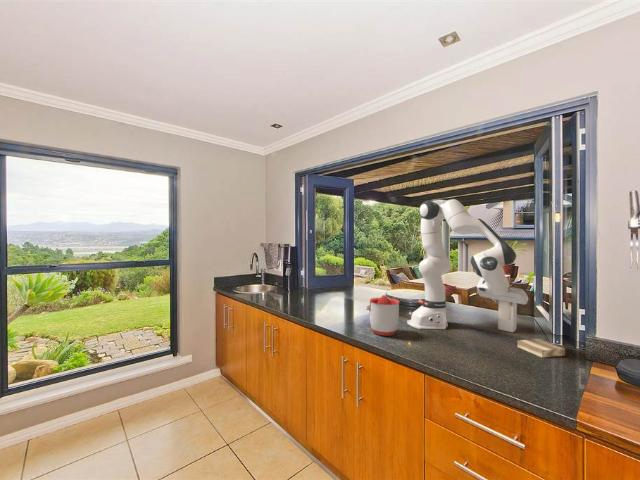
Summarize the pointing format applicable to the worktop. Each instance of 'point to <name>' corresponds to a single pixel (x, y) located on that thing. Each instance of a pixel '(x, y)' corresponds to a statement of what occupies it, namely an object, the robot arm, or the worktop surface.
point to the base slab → (541, 348)
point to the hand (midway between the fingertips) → (505, 303)
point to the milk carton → (509, 321)
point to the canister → (504, 310)
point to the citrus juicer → (384, 315)
